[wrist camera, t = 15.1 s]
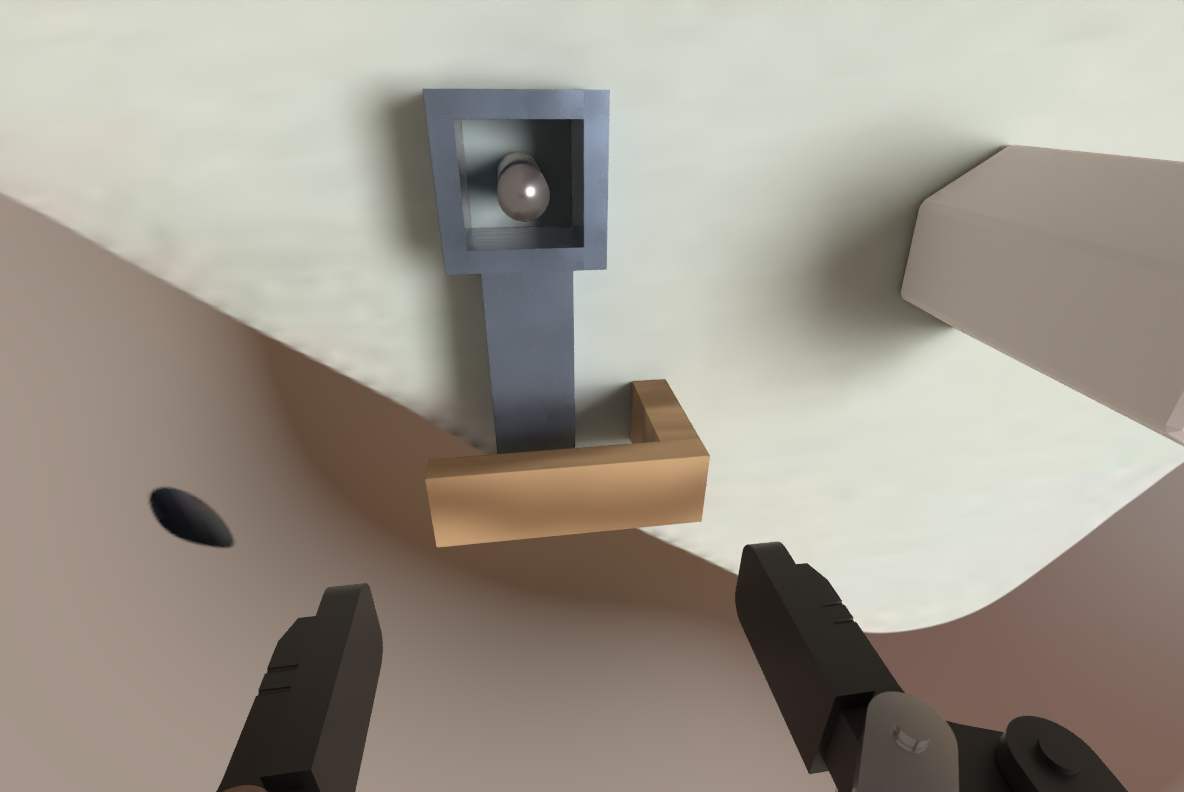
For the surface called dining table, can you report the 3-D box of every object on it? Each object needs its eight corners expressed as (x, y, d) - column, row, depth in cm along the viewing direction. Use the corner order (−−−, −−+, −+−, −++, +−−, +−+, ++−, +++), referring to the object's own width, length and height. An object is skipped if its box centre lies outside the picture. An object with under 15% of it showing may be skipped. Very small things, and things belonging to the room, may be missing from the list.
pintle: (495, 152, 26) (495, 167, 21) (538, 151, 26) (548, 166, 21) (499, 197, 27) (499, 222, 22) (540, 196, 27) (550, 220, 22)
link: (434, 89, 25) (422, 88, 21) (592, 90, 25) (609, 90, 22) (476, 456, 34) (473, 504, 30) (590, 447, 35) (602, 492, 31)
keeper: (441, 393, 32) (425, 479, 25) (665, 379, 33) (709, 455, 26) (449, 452, 33) (436, 547, 26) (661, 436, 35) (701, 521, 28)
